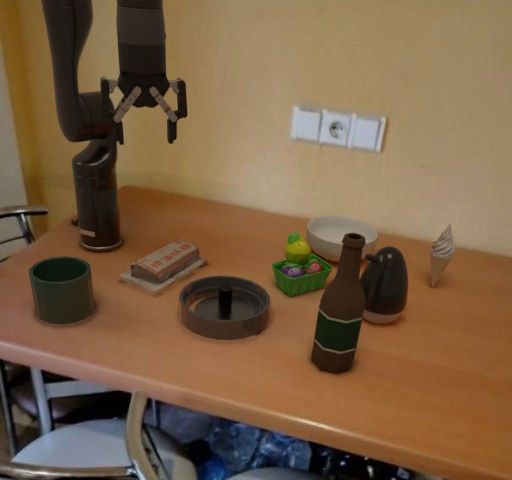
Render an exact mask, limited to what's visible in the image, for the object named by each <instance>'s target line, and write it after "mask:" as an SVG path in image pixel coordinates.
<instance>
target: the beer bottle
mask: <svg viewBox="0 0 512 480" xmlns="http://www.w3.org/2000/svg"><path fill="white" fill-rule="evenodd" d="M342 243H343V247H342V251H341V256H340V260H339V263H337V269H336V273H335V276H334V278H333V279H332V280H331V281H330V282H329V283H328V284H327V286H326V287H325V290H324V291H323V293H322V296H321V298H320V301H319V302H320V303H319V305H318V311H317V318H316V323H315V329H314V336H313V343H312V349H311V350H312V351H311V362H312V363H313V364H314V366H316V367H317V368H318V369H319V370H320V371H323V372H327V373H330V374H335V375H338V374H341V373H345V372H348V371H351V369H352V367H353V362H354V359H355V357H356V353H357V348H358V342H359V338H360V332H361V330H362V329H361V328H362V324H363V319H364V318H363V314H364V309H365V301H366V298H365V293H364V290H363V288H362V286H361V284H360V277H361V267H362V259H361V258H362V250H363V247H364V246H365V243H366V241H365V237H364V236H362V235H361V234H357V233H347V234H345V236H344V238H343V240H342Z"/></svg>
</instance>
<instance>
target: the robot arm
mask: <svg viewBox="0 0 512 480" xmlns="http://www.w3.org/2000/svg"><path fill="white" fill-rule="evenodd" d="M40 4H41V9H42V14H43V19H44V24H45V30H46V36H47V42H48V46H49V53H50V59H51V60H50V61H51V67H52V68H51V69H52V79H53V90H54V102H55V111H56V118H57V122H58V125H59V128H60V131H61V133H62V135H63V137H64V138H65V139H66V140H67V141H68V142H70V143H73V144H74V143H83V142H88V144H87V145H86V146H85V147H84V148H83V149H82V150H81V151H79V152H78V153H76V154H75V155H74V156H73V157H72V159H71V171H72V179H73V186H74V187H73V188H74V195H75V196H74V197H75V204H76V212H77V213H76V214H77V218H76V219H75V220H74V219H71V220H70V223H71V224H72V225H74V226H75V225H76V226H77V225H78V230H79V238H80V239H79V243H80V247H82V248H83V249H84V250H88V251H90V252H110V251H113V250H116V249H118V248H119V247H121V246H122V243H123V240H122V239H123V238H122V230H121V217H120V204H119V190H118V177H117V161H118V156H119V155H118V154H119V152H118V151H119V150H118V144H119V145H120V146H125V141H124V140H125V138H124V137H125V136H124V124H123V118H124V116H125V115H126V114H127V113H128V112H129V110H131V108H132V107H135V109H141V108H150V109H155V107H158V106H160V107H159V108H161V109H162V110H163V112H164V113H165V115H166V117H168V118H167V119H166V138H167V142H168V145H169V144H170V145H173V144H174V141H176V140H177V138H178V126H177V125H178V122H179V120H181V119H186V118H187V117H188V113H189V112H188V99H187V97H188V96H187V84H186V81H185V80H184V79H182V77H178V78H176V79H168V75H167V43H166V40H167V33H166V20H165V13H164V0H116V19H115V20H116V24H115V25H116V38H117V53H118V55H117V56H118V69H119V74H118V77H117V79H114V78H113V79H112V78H107V77H105V76H102V77H100V81H99V84H100V85H99V87H100V88H99V89H100V90H95V91H85V92H80V90H79V89H80V88H79V67H80V62H81V59H82V56H83V52H84V50H85V47H86V45H87V42H88V41H89V37H90V34H91V32H92V28H93V24H94V5H93V0H40ZM115 88H118V89H119V91H120V92H121V93H122V97H121V99H120V100H119V102H118V105H117V106H116V107H115V104H114V102H113V100H112V98H111V97H110V95H111V94H114V92H115ZM170 88H171V90H172V92H173V93H174V94H175V95H176V102H177V103H176V104H177V109H176V110H173V109H172V108H171V107H170V105H169V104H168V102H167V101H166V100H165V99H164V98H165V96H166V94H167V92H168V91H169V89H170Z"/></svg>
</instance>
